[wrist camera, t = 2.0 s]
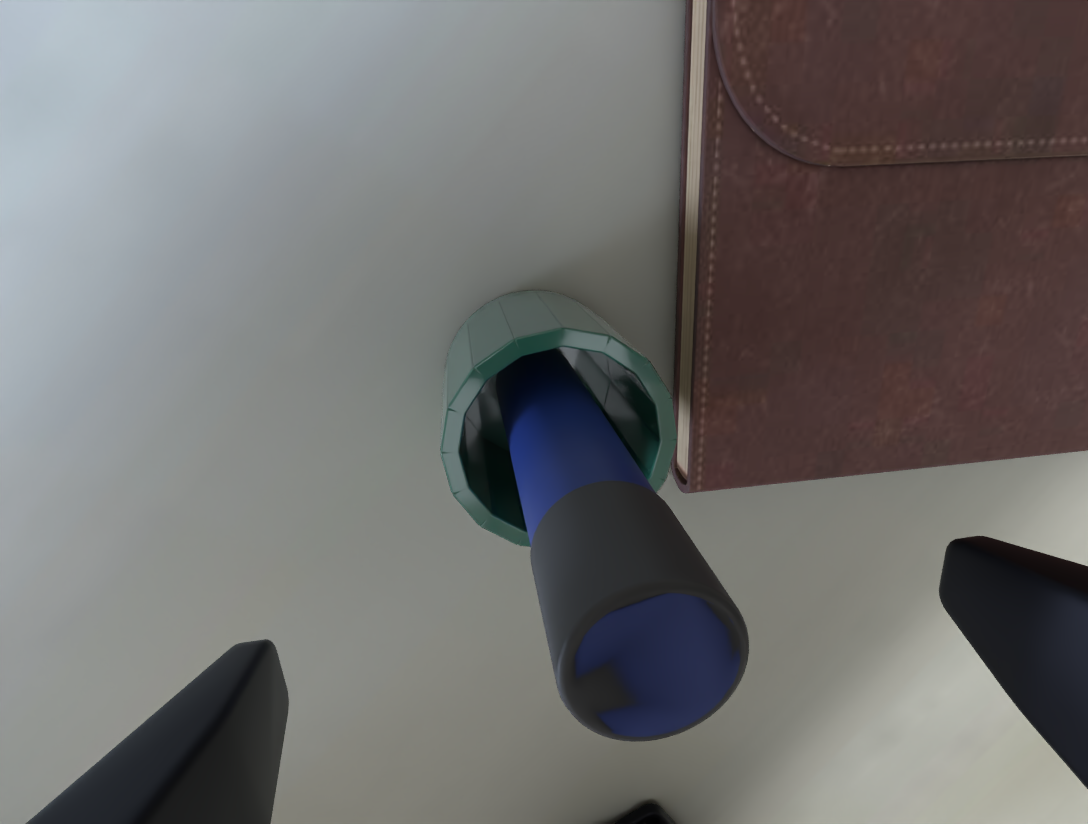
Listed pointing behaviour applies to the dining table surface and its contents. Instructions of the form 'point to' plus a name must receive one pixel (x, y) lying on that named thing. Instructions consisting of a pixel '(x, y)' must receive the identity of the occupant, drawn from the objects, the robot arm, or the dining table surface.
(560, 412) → the marker
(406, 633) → the dining table surface
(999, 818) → the dining table surface
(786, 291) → the notebook
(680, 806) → the dining table surface
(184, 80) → the dining table surface
